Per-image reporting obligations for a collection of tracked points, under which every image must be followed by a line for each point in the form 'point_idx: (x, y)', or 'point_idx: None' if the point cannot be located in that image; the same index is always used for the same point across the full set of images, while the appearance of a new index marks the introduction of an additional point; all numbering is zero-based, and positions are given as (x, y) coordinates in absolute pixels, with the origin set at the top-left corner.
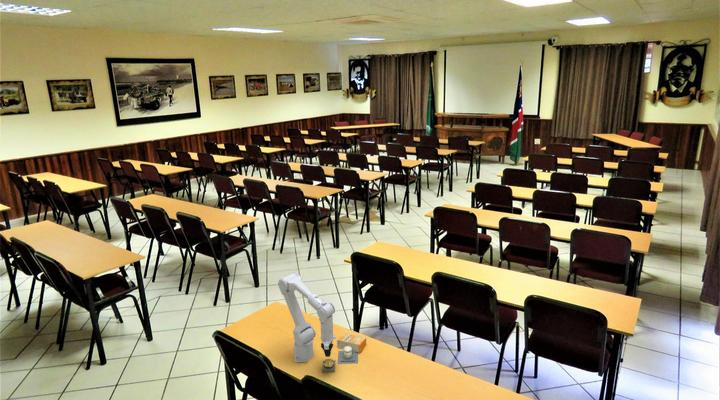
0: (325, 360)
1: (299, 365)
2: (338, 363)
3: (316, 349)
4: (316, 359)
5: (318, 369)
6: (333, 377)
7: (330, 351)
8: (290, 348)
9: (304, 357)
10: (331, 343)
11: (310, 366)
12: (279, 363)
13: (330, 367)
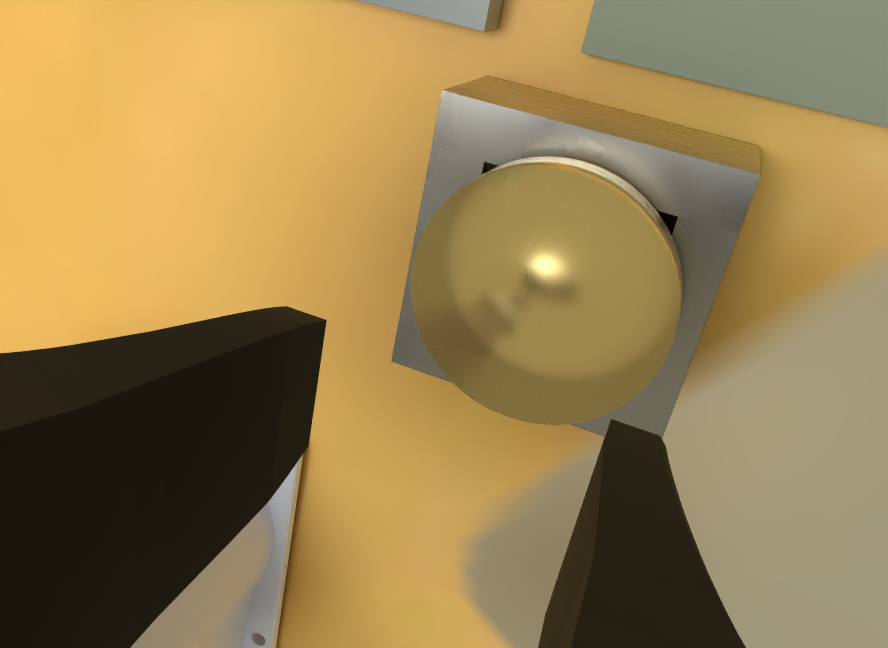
0: (451, 354)
1: (345, 629)
2: (475, 5)
3: (26, 312)
4: None
5: None
6: (864, 203)
7: (726, 626)
8: None
9: (235, 598)
10: (108, 411)
11: (400, 506)
12: None
13: None
